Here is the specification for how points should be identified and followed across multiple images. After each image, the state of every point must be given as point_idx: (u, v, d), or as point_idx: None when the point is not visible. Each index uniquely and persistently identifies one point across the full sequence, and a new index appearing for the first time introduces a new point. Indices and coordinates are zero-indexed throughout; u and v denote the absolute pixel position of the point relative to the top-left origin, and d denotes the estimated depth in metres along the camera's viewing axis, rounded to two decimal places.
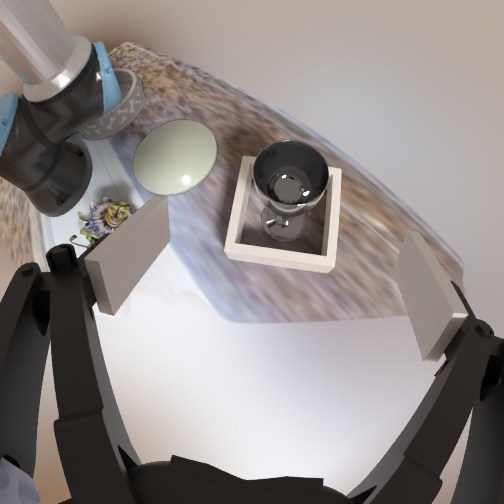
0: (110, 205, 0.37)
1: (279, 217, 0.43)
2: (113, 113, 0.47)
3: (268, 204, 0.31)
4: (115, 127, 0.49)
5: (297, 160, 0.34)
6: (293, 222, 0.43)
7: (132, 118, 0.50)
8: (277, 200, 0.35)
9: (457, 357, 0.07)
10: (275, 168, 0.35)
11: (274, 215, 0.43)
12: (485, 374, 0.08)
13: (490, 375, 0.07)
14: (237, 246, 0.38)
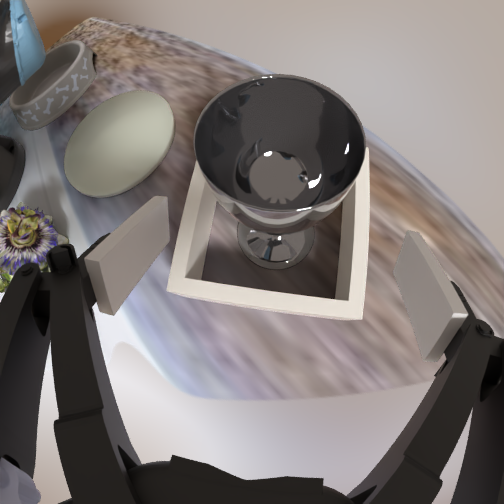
0: (12, 216, 0.20)
1: None
2: (50, 92, 0.30)
3: (229, 209, 0.13)
4: (55, 111, 0.32)
5: (294, 123, 0.17)
6: (289, 236, 0.26)
7: (76, 98, 0.33)
8: (257, 200, 0.18)
9: (457, 357, 0.07)
10: (252, 138, 0.18)
11: None
12: (485, 374, 0.08)
13: (490, 375, 0.07)
14: (189, 283, 0.21)
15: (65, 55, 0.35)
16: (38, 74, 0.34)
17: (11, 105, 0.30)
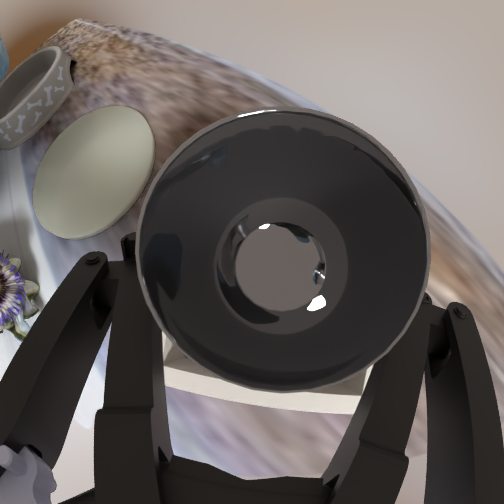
0: None
1: None
2: (21, 108, 0.24)
3: (202, 349, 0.08)
4: (27, 129, 0.27)
5: (306, 177, 0.11)
6: None
7: (50, 113, 0.28)
8: (250, 289, 0.13)
9: None
10: (243, 200, 0.12)
11: None
12: (427, 345, 0.09)
13: (434, 347, 0.09)
14: (167, 373, 0.16)
15: (43, 63, 0.30)
16: (15, 84, 0.29)
17: None
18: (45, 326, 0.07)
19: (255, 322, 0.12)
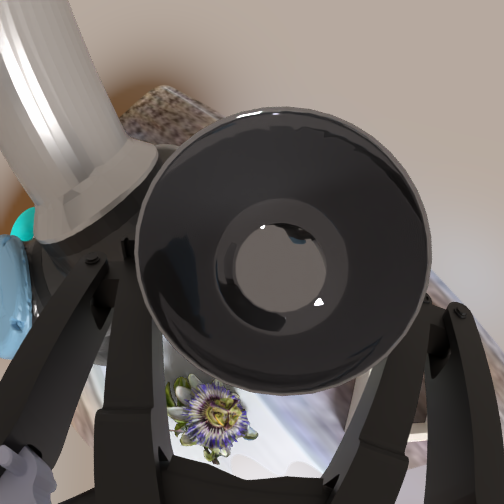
0: (215, 409, 0.28)
1: None
2: None
3: None
4: None
5: (306, 178, 0.11)
6: None
7: None
8: (249, 290, 0.13)
9: None
10: (243, 200, 0.12)
11: None
12: (427, 345, 0.09)
13: (434, 346, 0.09)
14: None
15: (163, 158, 0.43)
16: None
17: None
18: (45, 326, 0.07)
19: (255, 323, 0.12)
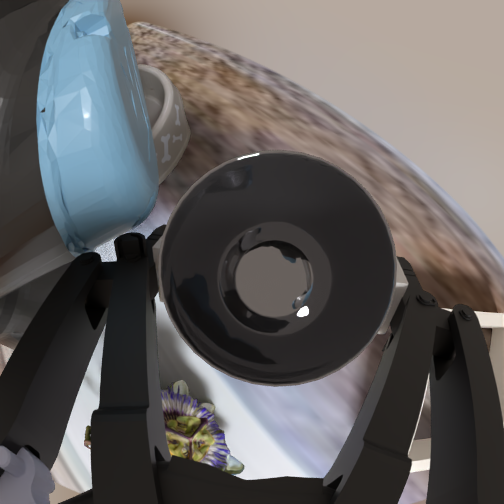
0: (169, 435, 0.15)
1: None
2: None
3: (211, 351, 0.10)
4: None
5: (298, 202, 0.13)
6: None
7: (166, 172, 0.28)
8: (247, 295, 0.15)
9: (401, 331, 0.08)
10: (243, 219, 0.14)
11: None
12: (433, 347, 0.09)
13: (439, 349, 0.09)
14: None
15: None
16: None
17: None
18: (40, 327, 0.07)
19: (252, 324, 0.14)
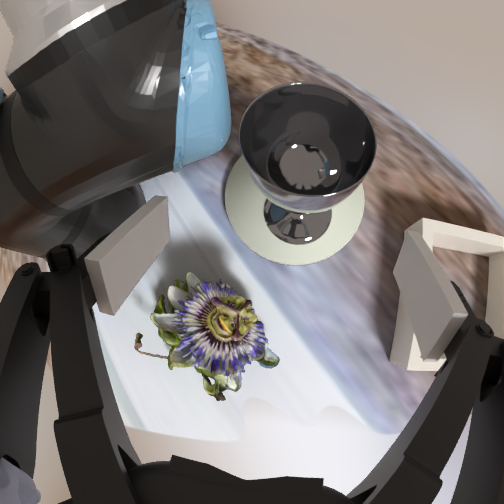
0: (220, 309, 0.22)
1: None
2: None
3: (268, 193, 0.17)
4: None
5: (317, 120, 0.19)
6: (310, 215, 0.29)
7: None
8: (285, 184, 0.21)
9: (457, 357, 0.07)
10: (281, 133, 0.20)
11: None
12: (485, 374, 0.08)
13: (490, 375, 0.07)
14: (423, 362, 0.22)
15: None
16: None
17: None
18: None
19: None
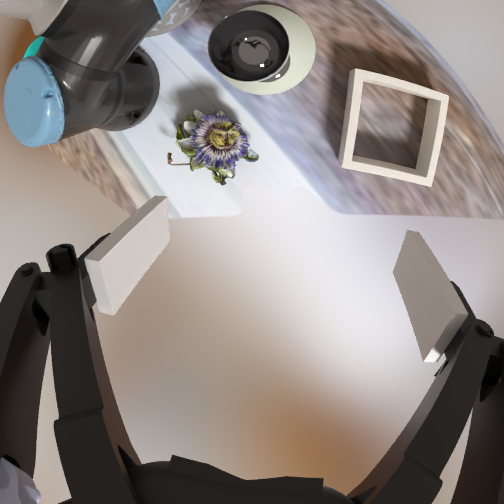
0: (216, 131, 0.35)
1: None
2: (173, 9, 0.30)
3: (230, 76, 0.26)
4: (178, 20, 0.33)
5: (260, 21, 0.24)
6: None
7: (196, 5, 0.32)
8: (246, 59, 0.28)
9: (457, 357, 0.07)
10: (238, 30, 0.25)
11: None
12: (485, 374, 0.08)
13: (490, 375, 0.07)
14: (354, 164, 0.38)
15: None
16: None
17: None
18: None
19: (248, 69, 0.29)
